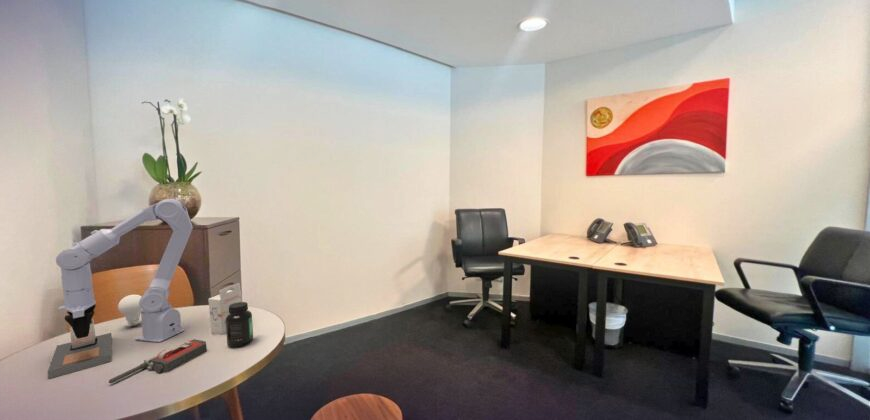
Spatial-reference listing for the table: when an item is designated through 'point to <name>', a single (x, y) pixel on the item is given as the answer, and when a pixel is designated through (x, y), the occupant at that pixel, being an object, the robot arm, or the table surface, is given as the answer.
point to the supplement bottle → (239, 325)
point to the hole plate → (80, 356)
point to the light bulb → (131, 309)
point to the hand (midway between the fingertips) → (83, 334)
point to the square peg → (85, 340)
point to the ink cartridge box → (223, 307)
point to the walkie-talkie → (169, 358)
